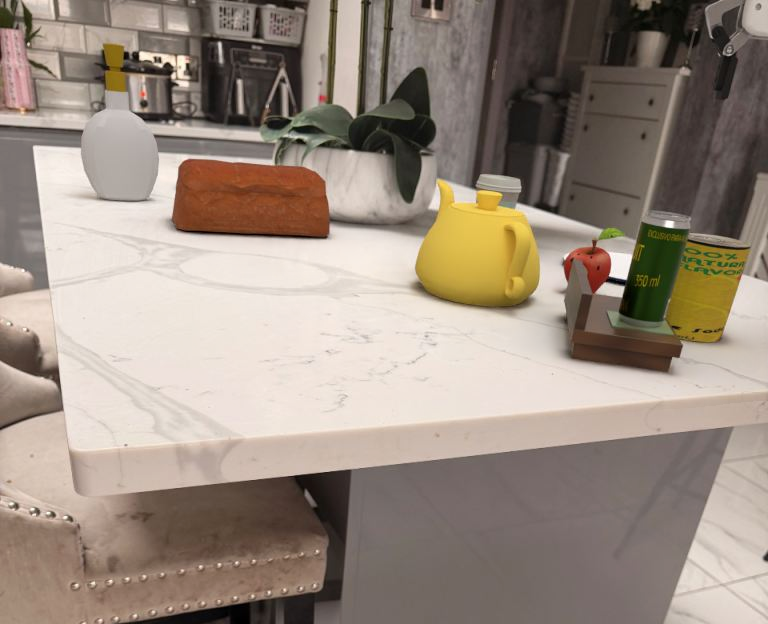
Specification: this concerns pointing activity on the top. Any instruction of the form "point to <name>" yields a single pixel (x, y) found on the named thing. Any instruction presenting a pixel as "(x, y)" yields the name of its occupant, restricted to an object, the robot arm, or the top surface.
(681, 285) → the beverage can
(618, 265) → the plate
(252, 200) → the bread
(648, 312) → the beer can
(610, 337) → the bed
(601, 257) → the apple
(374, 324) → the top surface
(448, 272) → the teapot
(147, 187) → the white rounded bottle
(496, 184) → the coffee cup
